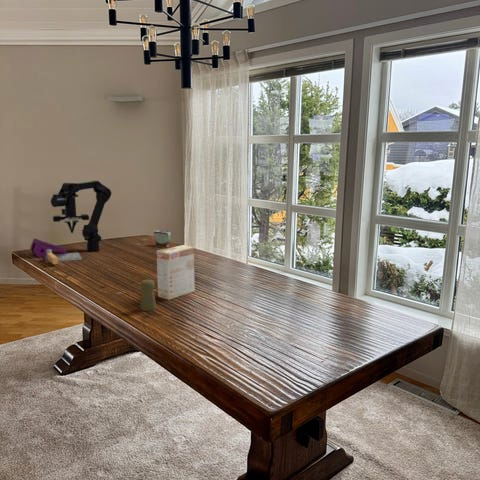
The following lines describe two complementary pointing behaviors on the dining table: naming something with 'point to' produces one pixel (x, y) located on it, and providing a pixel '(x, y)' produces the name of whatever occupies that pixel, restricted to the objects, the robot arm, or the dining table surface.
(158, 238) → the food container
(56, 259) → the swing arm
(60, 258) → the chassis plate
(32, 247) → the mounting bracket
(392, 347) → the dining table surface
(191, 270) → the coffeecake box
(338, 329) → the dining table surface
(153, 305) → the olive green upright piece
